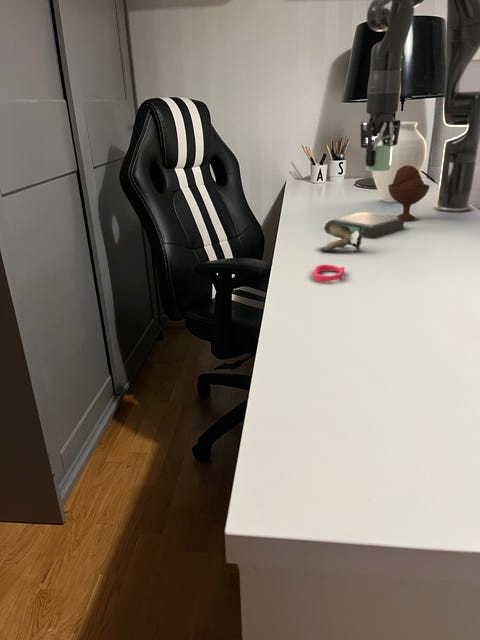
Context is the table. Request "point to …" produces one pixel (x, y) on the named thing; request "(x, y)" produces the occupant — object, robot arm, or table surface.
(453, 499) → the table surface
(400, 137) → the vase
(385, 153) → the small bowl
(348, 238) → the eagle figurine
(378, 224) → the scale
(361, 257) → the table surface
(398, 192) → the ice cream bowl
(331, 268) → the fitness band
